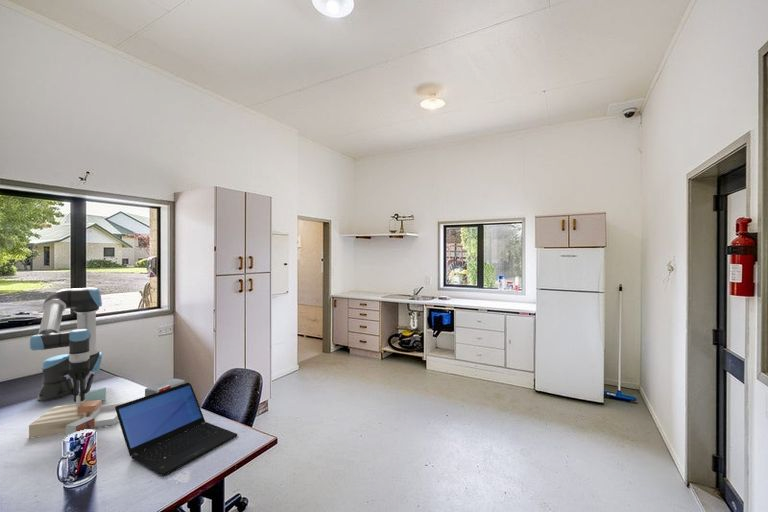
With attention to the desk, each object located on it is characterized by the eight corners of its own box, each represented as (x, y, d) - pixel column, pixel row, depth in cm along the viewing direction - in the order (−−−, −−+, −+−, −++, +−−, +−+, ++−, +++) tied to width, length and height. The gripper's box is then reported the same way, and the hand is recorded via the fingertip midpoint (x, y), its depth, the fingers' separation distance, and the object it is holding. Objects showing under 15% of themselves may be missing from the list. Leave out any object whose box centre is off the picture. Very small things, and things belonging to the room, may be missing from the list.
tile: (84, 407, 170) (84, 401, 170) (101, 405, 173) (101, 399, 173) (77, 413, 164) (77, 407, 164) (95, 411, 166) (95, 405, 166)
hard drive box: (154, 433, 157) (154, 391, 157) (143, 430, 159) (143, 388, 159) (184, 418, 171) (184, 379, 171) (174, 415, 174) (174, 377, 174)
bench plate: (54, 418, 171) (54, 406, 171) (97, 412, 177) (97, 401, 177) (28, 438, 152) (28, 425, 152) (78, 431, 159) (78, 418, 159)
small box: (75, 450, 143) (75, 426, 143) (65, 449, 144) (65, 425, 144) (95, 440, 150) (95, 417, 150) (85, 439, 152) (85, 416, 152)
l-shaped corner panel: (83, 413, 177) (83, 399, 177) (77, 407, 184) (77, 394, 184) (111, 405, 187) (111, 392, 187) (105, 400, 194) (105, 387, 194)
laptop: (162, 479, 125) (162, 428, 125) (113, 451, 143) (113, 406, 143) (238, 437, 154) (238, 395, 154) (190, 418, 172) (190, 380, 172)
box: (99, 412, 178) (99, 405, 178) (129, 408, 182) (129, 401, 182) (80, 430, 159) (80, 423, 159) (113, 425, 164) (113, 418, 164)
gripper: (58, 364, 161) (58, 413, 161) (91, 361, 165) (91, 408, 165) (67, 359, 168) (67, 406, 168) (98, 357, 173) (98, 402, 172)
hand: (79, 407), depth 167 cm, fingers closed
